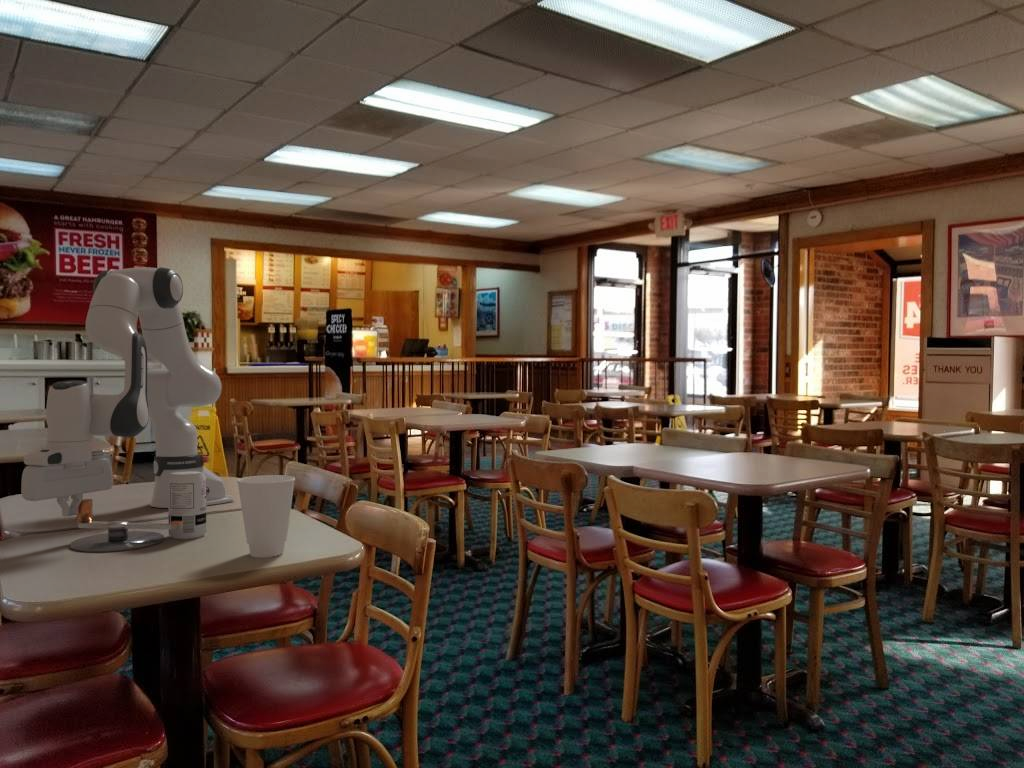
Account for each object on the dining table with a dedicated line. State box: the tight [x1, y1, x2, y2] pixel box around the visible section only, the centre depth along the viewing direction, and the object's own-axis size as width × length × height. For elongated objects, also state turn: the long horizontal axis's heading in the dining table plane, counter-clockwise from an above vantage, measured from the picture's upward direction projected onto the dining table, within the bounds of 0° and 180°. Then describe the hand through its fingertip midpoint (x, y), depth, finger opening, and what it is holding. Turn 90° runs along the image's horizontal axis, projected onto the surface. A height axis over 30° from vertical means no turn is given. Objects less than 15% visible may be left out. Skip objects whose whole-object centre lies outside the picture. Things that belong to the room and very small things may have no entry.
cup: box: [236, 474, 296, 558], centre depth 172 cm, size 12×12×16 cm
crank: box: [76, 498, 183, 531], centre depth 182 cm, size 25×4×6 cm, turn 84°
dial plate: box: [69, 528, 165, 553], centre depth 183 cm, size 19×19×3 cm
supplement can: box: [167, 471, 207, 540], centre depth 189 cm, size 8×8×15 cm
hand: (70, 515), depth 180 cm, fingers closed
